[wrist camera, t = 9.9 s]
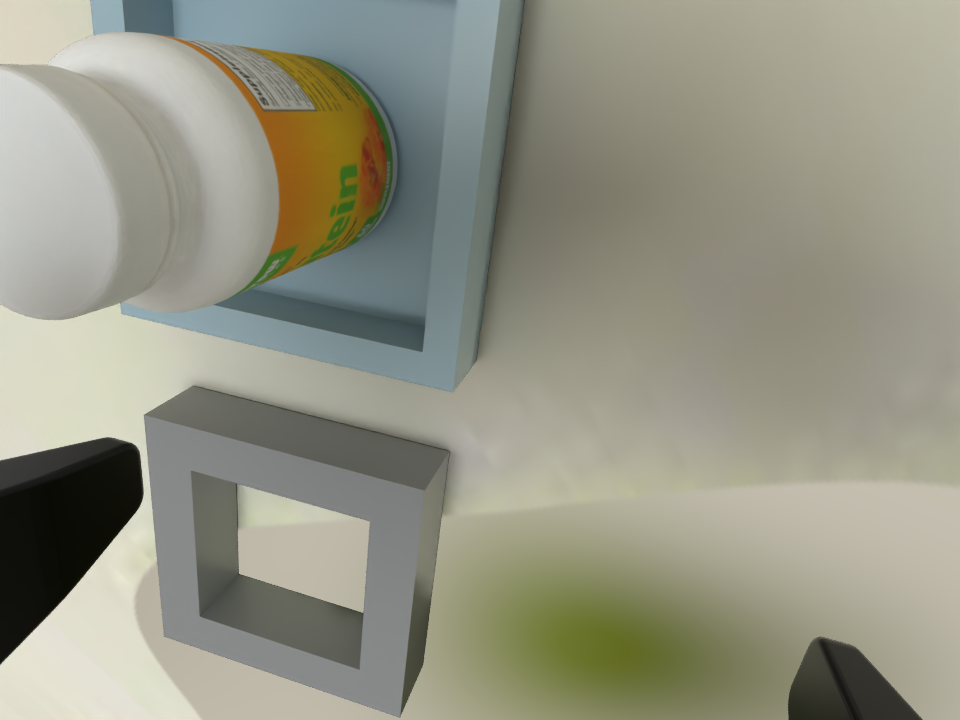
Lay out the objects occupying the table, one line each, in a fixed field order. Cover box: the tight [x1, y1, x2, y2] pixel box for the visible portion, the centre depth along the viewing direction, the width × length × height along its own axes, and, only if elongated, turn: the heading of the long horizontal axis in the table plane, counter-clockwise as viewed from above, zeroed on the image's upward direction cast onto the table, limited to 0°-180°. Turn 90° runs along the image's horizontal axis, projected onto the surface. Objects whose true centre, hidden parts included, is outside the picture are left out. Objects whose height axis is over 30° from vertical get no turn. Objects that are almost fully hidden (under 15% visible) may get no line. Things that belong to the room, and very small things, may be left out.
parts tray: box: [90, 0, 525, 392], centre depth 18 cm, size 11×11×2 cm
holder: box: [144, 386, 450, 718], centre depth 24 cm, size 10×10×2 cm
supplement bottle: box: [0, 32, 398, 320], centre depth 15 cm, size 5×5×10 cm
